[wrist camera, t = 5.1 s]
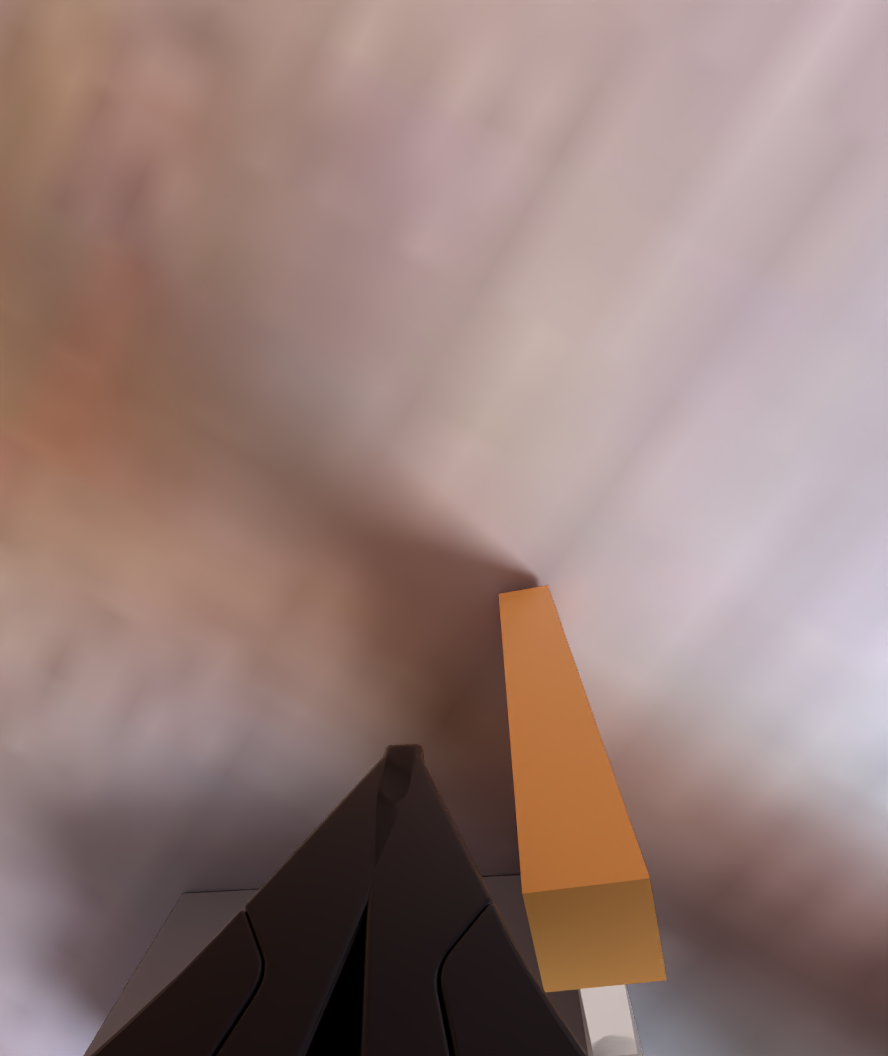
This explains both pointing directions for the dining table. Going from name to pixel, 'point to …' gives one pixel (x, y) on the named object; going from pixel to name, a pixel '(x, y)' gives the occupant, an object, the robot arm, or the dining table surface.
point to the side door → (574, 833)
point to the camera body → (212, 911)
